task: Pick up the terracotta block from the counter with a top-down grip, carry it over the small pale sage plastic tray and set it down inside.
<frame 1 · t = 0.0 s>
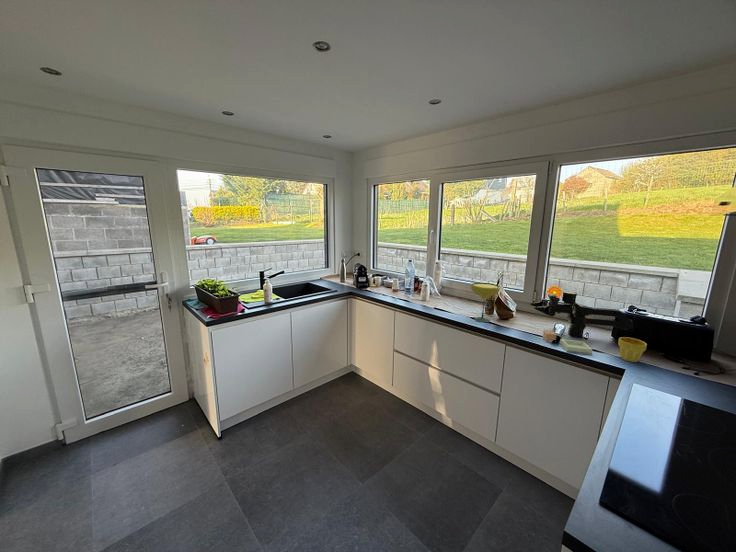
hand: (532, 305, 178), 17 cm above the worktop, tool horizontal, fingers open, 9 cm apart
cocktail glass: (482, 320, 201), on the worktop
plant pot: (629, 359, 145), on the worktop
terracotta block: (548, 340, 167), on the worktop
sage tray: (575, 349, 156), on the worktop
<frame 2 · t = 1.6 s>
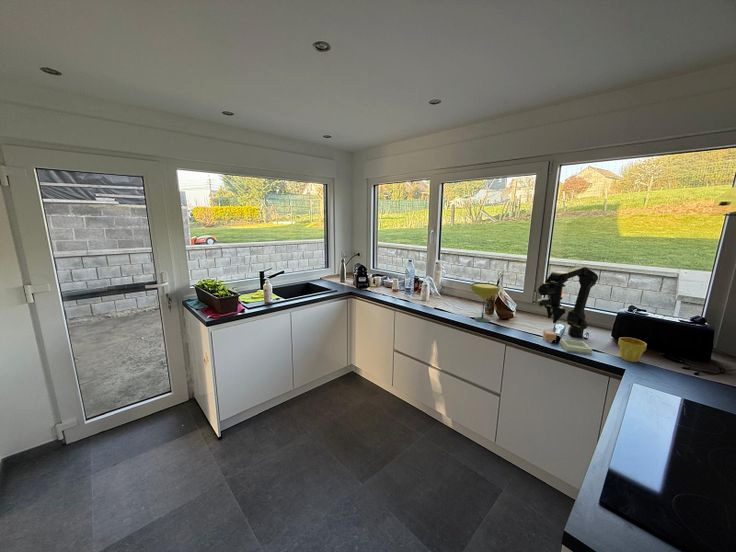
hand: (551, 320, 165), 12 cm above the worktop, tool pointing down, fingers open, 9 cm apart
nothing on the worktop moved.
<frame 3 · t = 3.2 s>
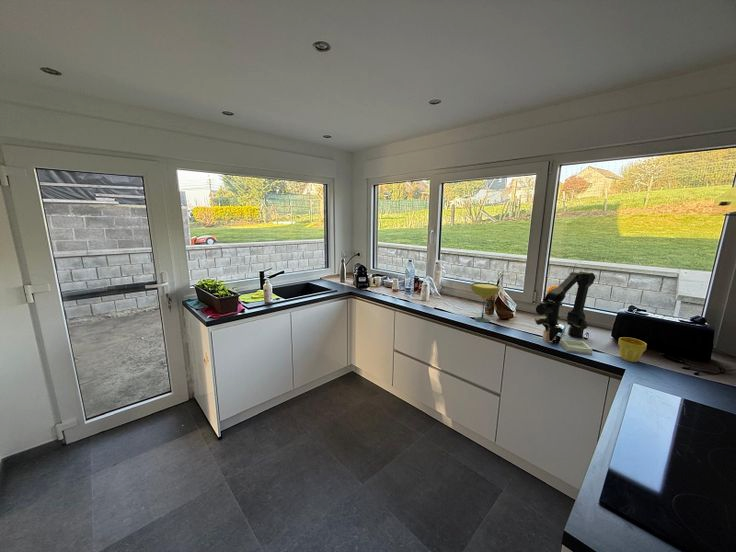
hand: (549, 338, 167), 1 cm above the worktop, tool pointing down, fingers closed on terracotta block, 5 cm apart
terracotta block: (548, 340, 167), on the worktop, touching gripper
everything else where it was.
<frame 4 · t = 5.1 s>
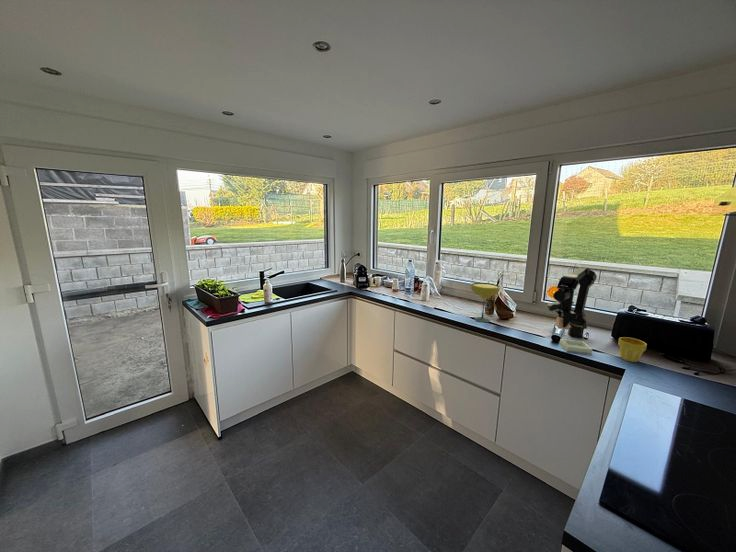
hand: (562, 325, 160), 11 cm above the worktop, tool pointing down, fingers closed on terracotta block, 5 cm apart
terracotta block: (562, 327, 160), point 10 cm above the worktop, touching gripper
everything else where it was.
when the fingers open (4 cm above the worktop, at t = 7.2 s): terracotta block drops 2 cm, resting on sage tray.
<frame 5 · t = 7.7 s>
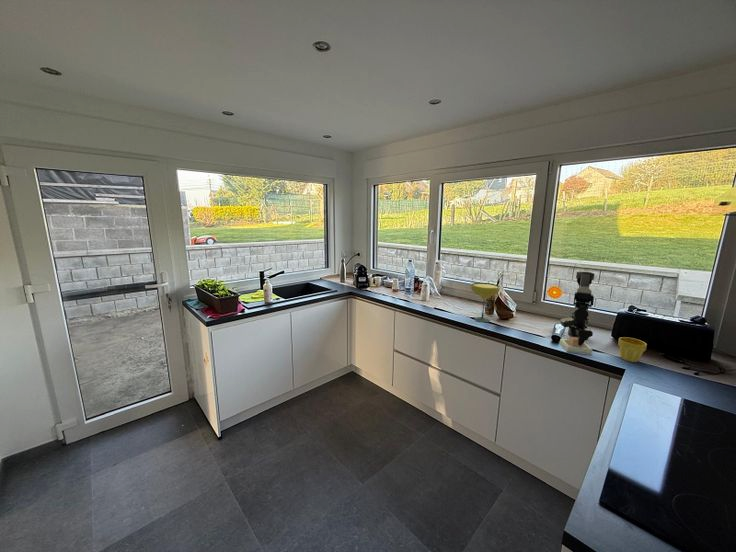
hand: (576, 342, 155), 4 cm above the worktop, tool pointing down, fingers open, 9 cm apart
terracotta block: (575, 347, 156), point 1 cm above the worktop, touching sage tray
everything else where it was.
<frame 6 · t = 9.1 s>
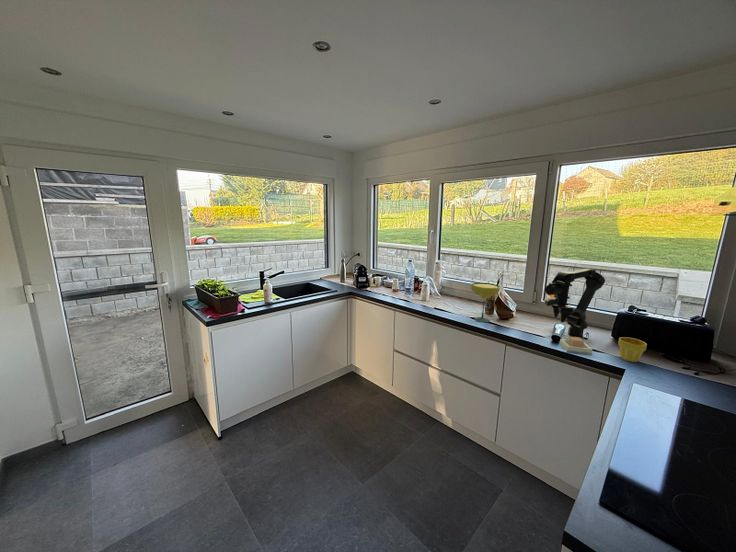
hand: (558, 319, 168), 12 cm above the worktop, tool pointing down, fingers open, 9 cm apart
nothing on the worktop moved.
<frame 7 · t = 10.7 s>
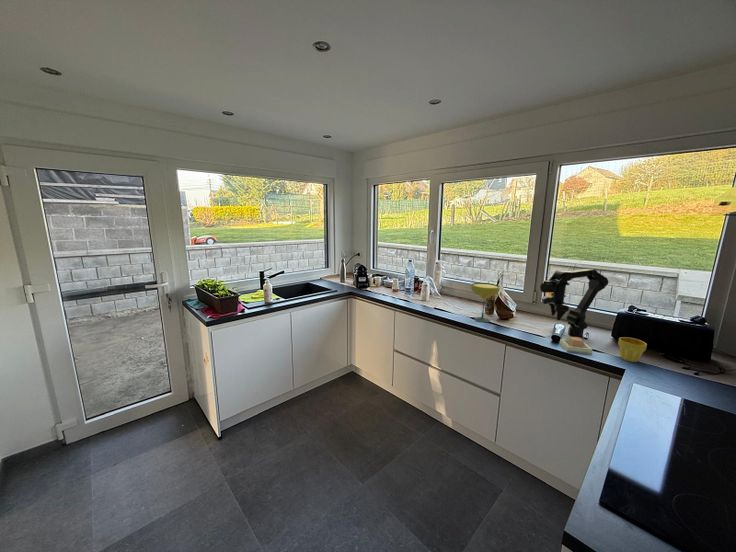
hand: (555, 317, 171), 12 cm above the worktop, tool pointing down, fingers open, 9 cm apart
nothing on the worktop moved.
at the end: terracotta block inside the target area on the sage tray (0.1 cm from its centre), point 1.0 cm above the sage tray's base; terracotta block tilted 0°; the gripper is holding nothing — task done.
